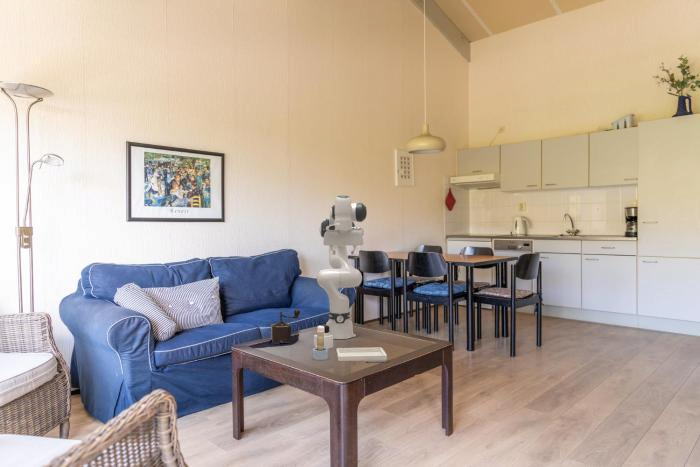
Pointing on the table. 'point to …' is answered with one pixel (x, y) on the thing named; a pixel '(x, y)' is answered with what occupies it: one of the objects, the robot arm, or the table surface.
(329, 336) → the medicine bottle
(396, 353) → the table surface
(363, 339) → the table surface
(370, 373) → the table surface
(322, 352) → the cup
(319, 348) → the dowel
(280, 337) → the brown coffee grinder
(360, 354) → the tray
